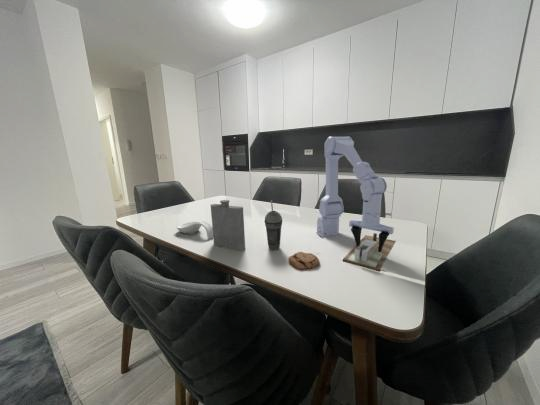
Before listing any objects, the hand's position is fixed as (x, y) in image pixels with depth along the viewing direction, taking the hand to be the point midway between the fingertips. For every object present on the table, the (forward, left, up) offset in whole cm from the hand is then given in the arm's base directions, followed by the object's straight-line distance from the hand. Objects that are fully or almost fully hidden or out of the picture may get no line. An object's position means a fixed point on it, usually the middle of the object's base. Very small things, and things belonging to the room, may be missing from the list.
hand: (368, 248), depth 81 cm
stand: (+4, +3, -3) cm, 5 cm away
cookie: (-24, +2, -3) cm, 25 cm away
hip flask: (-50, +24, -3) cm, 55 cm away
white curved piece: (-64, +45, -3) cm, 78 cm away
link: (-2, -2, -2) cm, 3 cm away
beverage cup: (-32, +17, -3) cm, 36 cm away
